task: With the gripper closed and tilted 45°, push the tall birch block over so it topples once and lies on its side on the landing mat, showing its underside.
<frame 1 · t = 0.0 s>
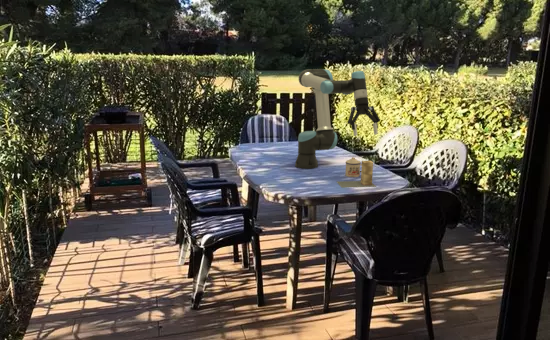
hand: (365, 135, 250), 28 cm above the table, tool tilted 20°, fingers open, 13 cm apart
landing mat: (356, 184, 251), on the table
birch block: (366, 183, 252), resting on landing mat
teacup with lid: (354, 176, 271), on the table
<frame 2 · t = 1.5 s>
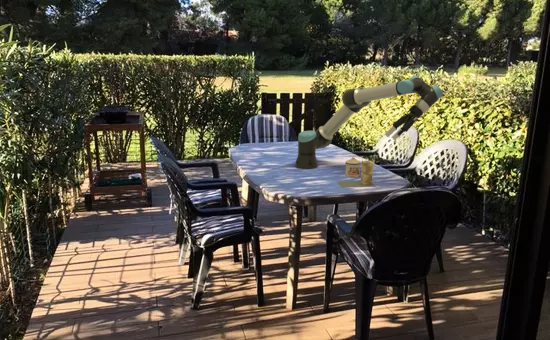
hand: (389, 137, 247), 27 cm above the table, tool tilted 45°, fingers open, 10 cm apart
nothing on the table moved.
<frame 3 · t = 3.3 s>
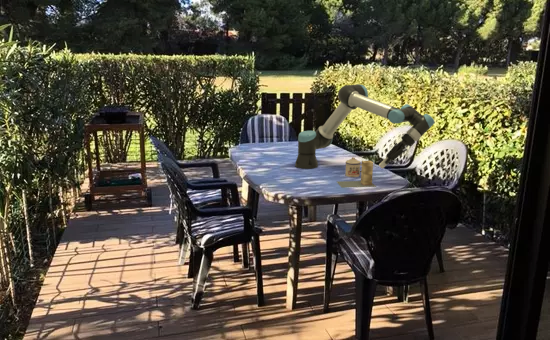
hand: (380, 166, 250), 10 cm above the table, tool tilted 45°, fingers closed
nothing on the table moved.
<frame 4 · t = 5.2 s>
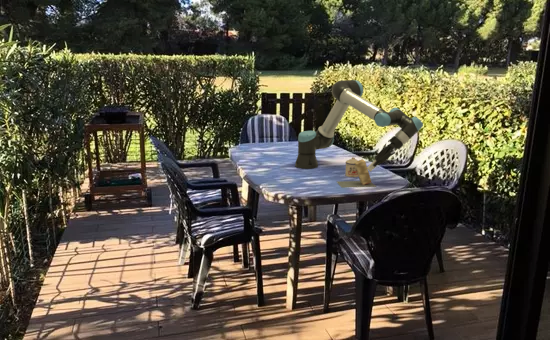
hand: (368, 169, 249), 9 cm above the table, tool tilted 45°, fingers closed
birch block: (366, 182, 251), point 1 cm above the table, tilted 20°, touching landing mat
everything else where it was.
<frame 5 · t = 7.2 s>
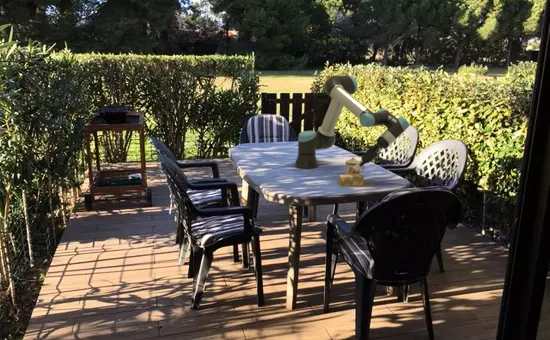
hand: (355, 169, 249), 9 cm above the table, tool tilted 45°, fingers closed
birch block: (362, 179, 251), point 3 cm above the table, tilted 90°, touching landing mat
everything else where it was.
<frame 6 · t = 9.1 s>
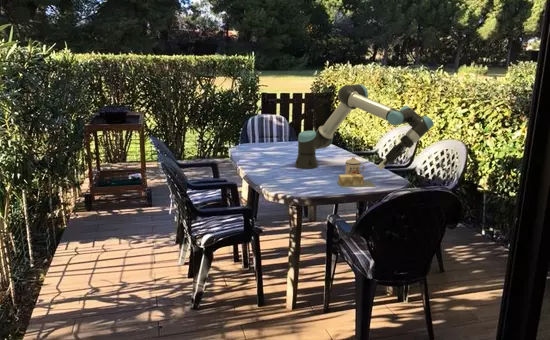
hand: (379, 168, 250), 9 cm above the table, tool tilted 45°, fingers closed
nothing on the table moved.
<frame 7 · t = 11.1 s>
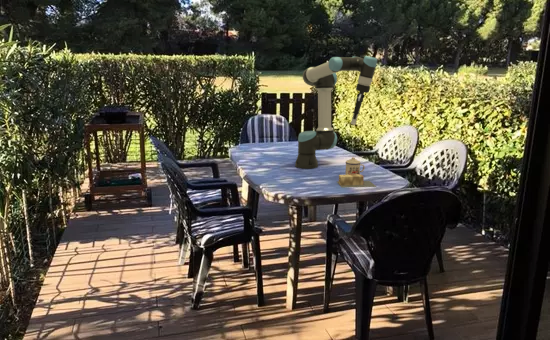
hand: (353, 124, 257), 33 cm above the table, tool pointing down, fingers closed
nothing on the table moved.
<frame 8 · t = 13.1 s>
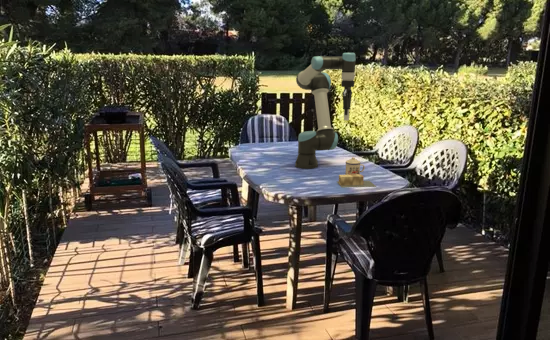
hand: (346, 120, 263), 34 cm above the table, tool pointing down, fingers closed
nothing on the table moved.
at the end: birch block tilted 90°; birch block touching landing mat; birch block 3.4 cm from the landing mat (horizontally) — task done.
